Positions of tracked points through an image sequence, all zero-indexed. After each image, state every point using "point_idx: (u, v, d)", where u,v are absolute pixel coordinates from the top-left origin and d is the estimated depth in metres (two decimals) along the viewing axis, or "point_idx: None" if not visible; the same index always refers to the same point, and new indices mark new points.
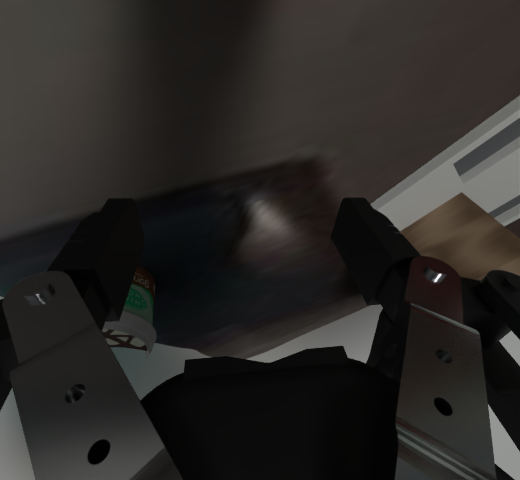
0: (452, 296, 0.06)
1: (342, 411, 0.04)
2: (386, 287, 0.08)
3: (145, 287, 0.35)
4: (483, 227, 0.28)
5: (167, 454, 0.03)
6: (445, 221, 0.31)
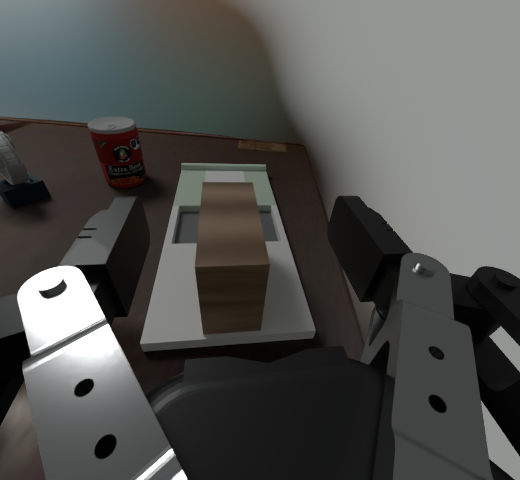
0: (441, 292, 0.06)
1: (342, 411, 0.04)
2: (378, 284, 0.08)
3: None
4: None
5: (172, 452, 0.03)
6: None
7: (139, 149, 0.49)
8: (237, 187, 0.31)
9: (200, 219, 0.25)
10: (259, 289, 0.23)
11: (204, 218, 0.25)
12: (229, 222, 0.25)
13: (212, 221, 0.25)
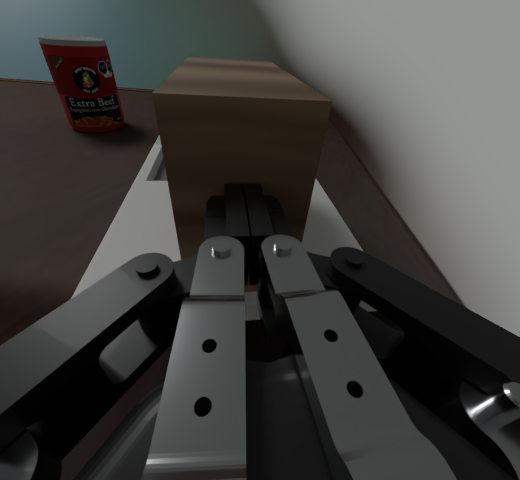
0: (284, 268, 0.07)
1: None
2: (256, 266, 0.08)
3: None
4: None
5: (245, 459, 0.03)
6: None
7: (112, 80, 0.37)
8: (245, 61, 0.19)
9: (179, 68, 0.13)
10: (300, 183, 0.11)
11: (187, 68, 0.13)
12: (234, 73, 0.13)
13: (202, 71, 0.13)
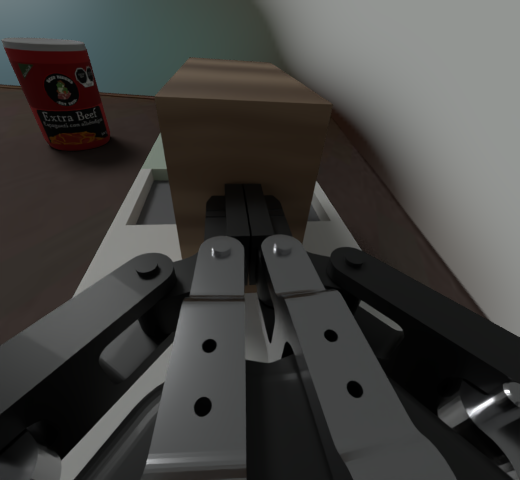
0: (284, 269, 0.07)
1: None
2: (256, 266, 0.08)
3: None
4: None
5: (244, 459, 0.03)
6: None
7: (94, 89, 0.32)
8: (246, 62, 0.19)
9: (180, 71, 0.13)
10: (301, 185, 0.11)
11: (188, 70, 0.13)
12: (235, 75, 0.13)
13: (203, 73, 0.13)
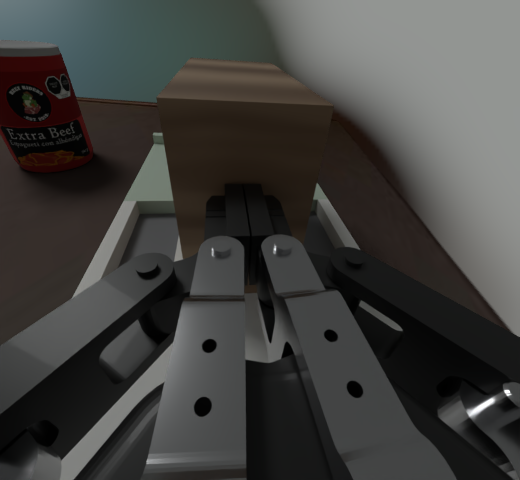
0: (284, 269, 0.07)
1: None
2: (256, 266, 0.08)
3: None
4: None
5: (244, 459, 0.03)
6: None
7: (71, 101, 0.27)
8: (247, 63, 0.19)
9: (181, 71, 0.13)
10: (302, 186, 0.11)
11: (190, 71, 0.13)
12: (236, 76, 0.13)
13: (205, 73, 0.13)
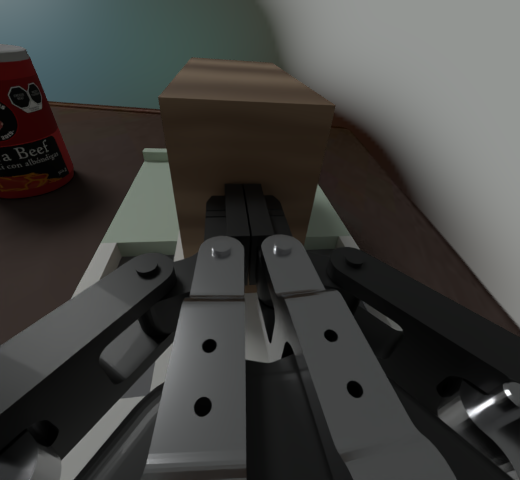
0: (284, 269, 0.07)
1: None
2: (256, 266, 0.08)
3: None
4: None
5: (244, 459, 0.03)
6: None
7: (43, 114, 0.23)
8: (248, 63, 0.19)
9: (182, 71, 0.13)
10: (303, 186, 0.11)
11: (191, 71, 0.13)
12: (237, 76, 0.13)
13: (206, 73, 0.13)
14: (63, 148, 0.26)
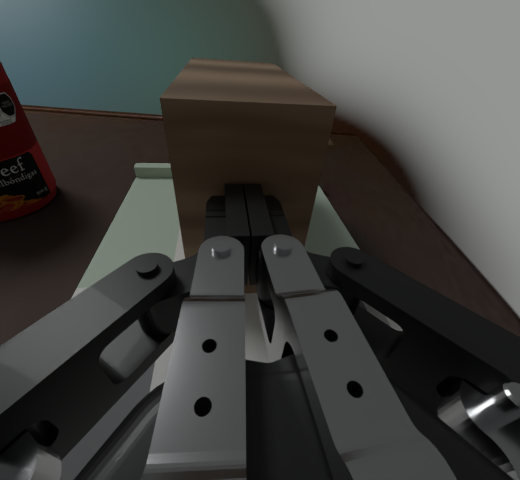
0: (284, 268, 0.07)
1: None
2: (256, 266, 0.08)
3: None
4: None
5: (244, 459, 0.03)
6: None
7: (17, 128, 0.20)
8: (248, 63, 0.19)
9: (183, 71, 0.13)
10: (304, 186, 0.11)
11: (192, 71, 0.13)
12: (238, 76, 0.13)
13: (207, 74, 0.13)
14: (43, 165, 0.23)
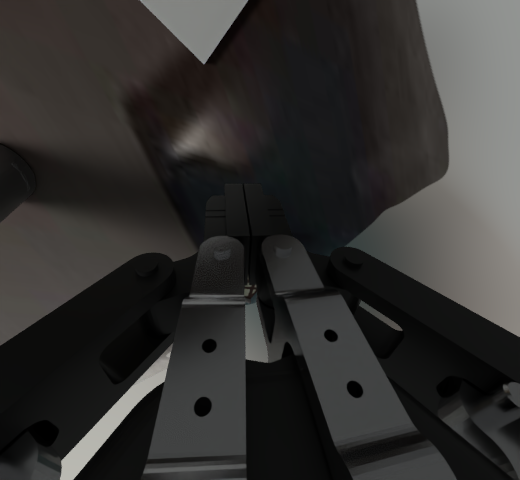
0: (284, 268, 0.07)
1: None
2: (256, 266, 0.08)
3: None
4: None
5: (244, 459, 0.03)
6: None
7: None
8: None
9: None
10: None
11: None
12: None
13: None
14: None
